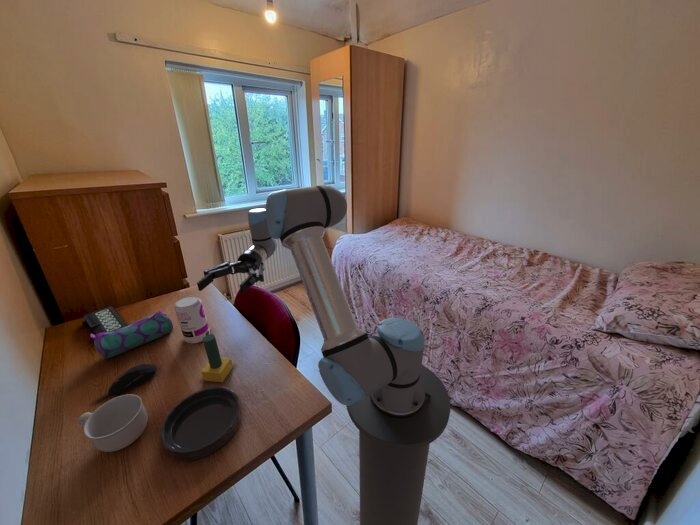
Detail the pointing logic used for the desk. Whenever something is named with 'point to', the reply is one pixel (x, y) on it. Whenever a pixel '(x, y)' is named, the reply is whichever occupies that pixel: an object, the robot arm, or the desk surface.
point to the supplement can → (192, 319)
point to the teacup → (115, 423)
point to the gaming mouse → (131, 379)
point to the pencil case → (132, 335)
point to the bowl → (201, 423)
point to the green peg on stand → (215, 361)
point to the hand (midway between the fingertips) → (219, 288)
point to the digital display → (103, 321)
